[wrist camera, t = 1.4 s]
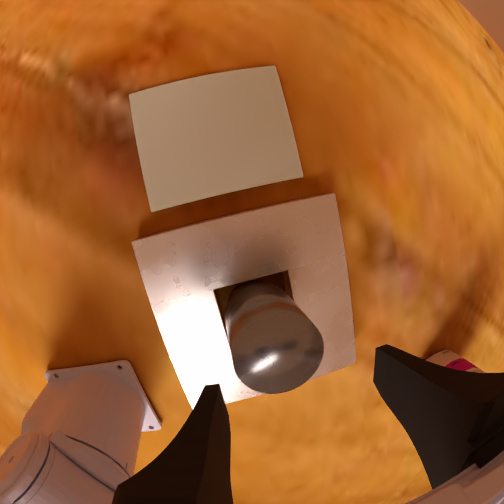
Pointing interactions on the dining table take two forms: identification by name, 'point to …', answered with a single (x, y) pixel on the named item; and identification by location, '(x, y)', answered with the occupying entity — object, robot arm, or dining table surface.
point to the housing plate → (243, 269)
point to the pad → (213, 136)
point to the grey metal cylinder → (270, 338)
